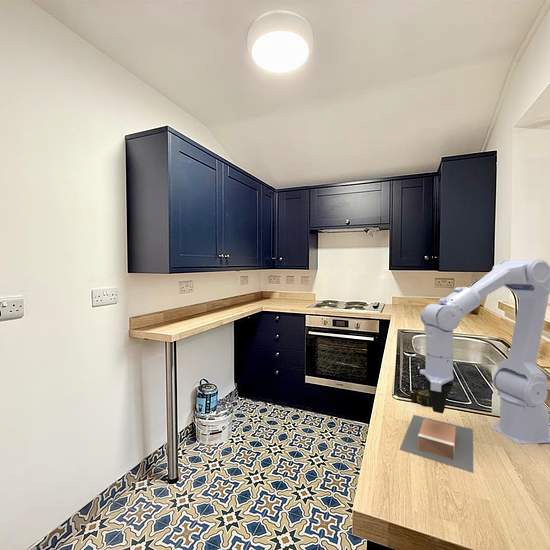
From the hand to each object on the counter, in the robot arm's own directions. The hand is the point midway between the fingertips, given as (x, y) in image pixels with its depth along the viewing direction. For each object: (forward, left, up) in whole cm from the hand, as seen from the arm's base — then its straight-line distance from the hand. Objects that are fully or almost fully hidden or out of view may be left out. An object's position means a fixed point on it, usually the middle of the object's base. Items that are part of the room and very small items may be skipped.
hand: (438, 411), depth 71 cm
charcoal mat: (-1, -1, -8) cm, 8 cm away
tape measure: (-10, -21, -8) cm, 25 cm away
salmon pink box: (-3, -3, -6) cm, 7 cm away
